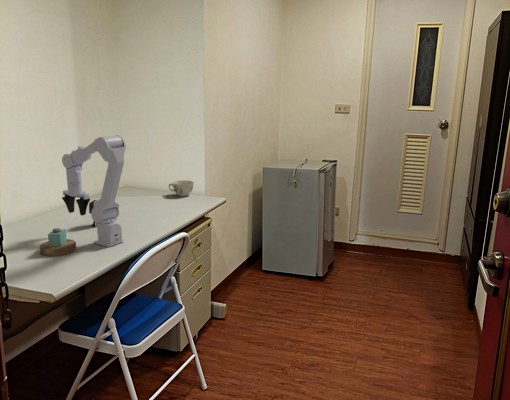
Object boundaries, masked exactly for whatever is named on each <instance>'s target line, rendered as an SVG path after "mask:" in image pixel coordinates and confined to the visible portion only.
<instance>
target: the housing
mask: <svg viewBox="0 0 510 400" xmlns="http://www.w3.org/2000/svg"><path fill="white" fill-rule="evenodd" d="M47 236H48V240H47V241H49V247H61V246H62V245H64V244H65V243H66V242H67V239H68V238H67V231H66V229H61V228H58V227H57V228H52V230H51V231H50V232H49V233H47Z"/></svg>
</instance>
